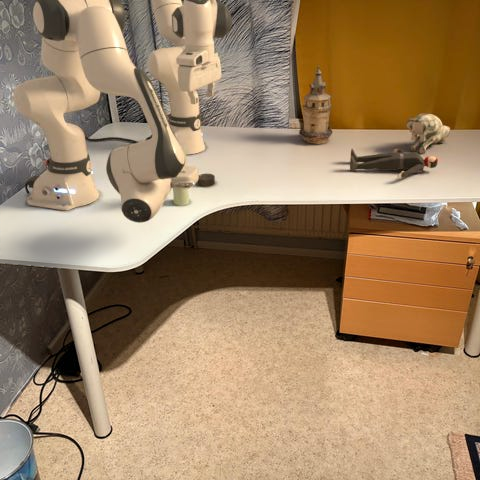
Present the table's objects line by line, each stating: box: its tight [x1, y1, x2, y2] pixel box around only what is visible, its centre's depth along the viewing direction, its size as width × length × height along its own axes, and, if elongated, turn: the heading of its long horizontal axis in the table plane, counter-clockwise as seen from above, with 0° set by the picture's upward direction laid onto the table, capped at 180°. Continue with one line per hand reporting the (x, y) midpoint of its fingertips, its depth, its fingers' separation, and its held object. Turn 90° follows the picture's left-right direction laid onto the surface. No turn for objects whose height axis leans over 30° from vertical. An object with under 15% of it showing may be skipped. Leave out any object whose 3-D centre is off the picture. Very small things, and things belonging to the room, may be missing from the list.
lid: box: [197, 173, 216, 188], centre depth 183 cm, size 6×6×2 cm
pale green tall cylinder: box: [172, 147, 190, 207], centre depth 166 cm, size 5×5×18 cm
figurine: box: [406, 113, 451, 154], centre depth 207 cm, size 10×19×20 cm
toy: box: [349, 148, 439, 180], centre depth 190 cm, size 26×6×30 cm
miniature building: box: [298, 65, 333, 145], centre depth 213 cm, size 13×14×30 cm
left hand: (167, 164), depth 150 cm, fingers open, 8 cm apart
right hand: (202, 100), depth 169 cm, fingers open, 8 cm apart
